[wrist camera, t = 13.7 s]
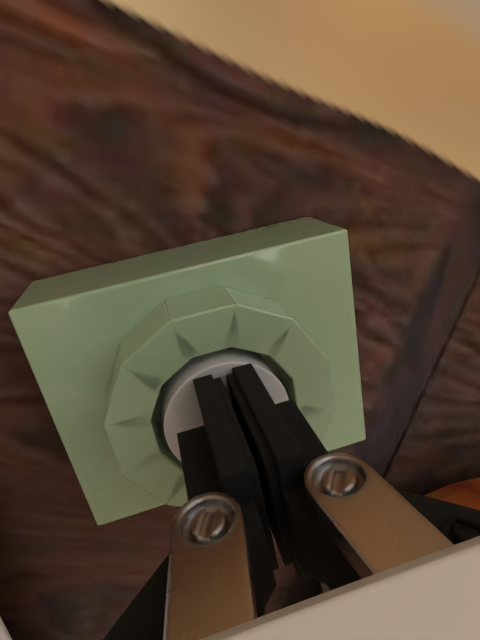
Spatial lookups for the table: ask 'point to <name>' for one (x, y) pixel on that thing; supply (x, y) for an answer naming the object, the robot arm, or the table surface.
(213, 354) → the grey rotary knob
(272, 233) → the green knob base
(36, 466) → the table surface
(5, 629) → the salad plate
